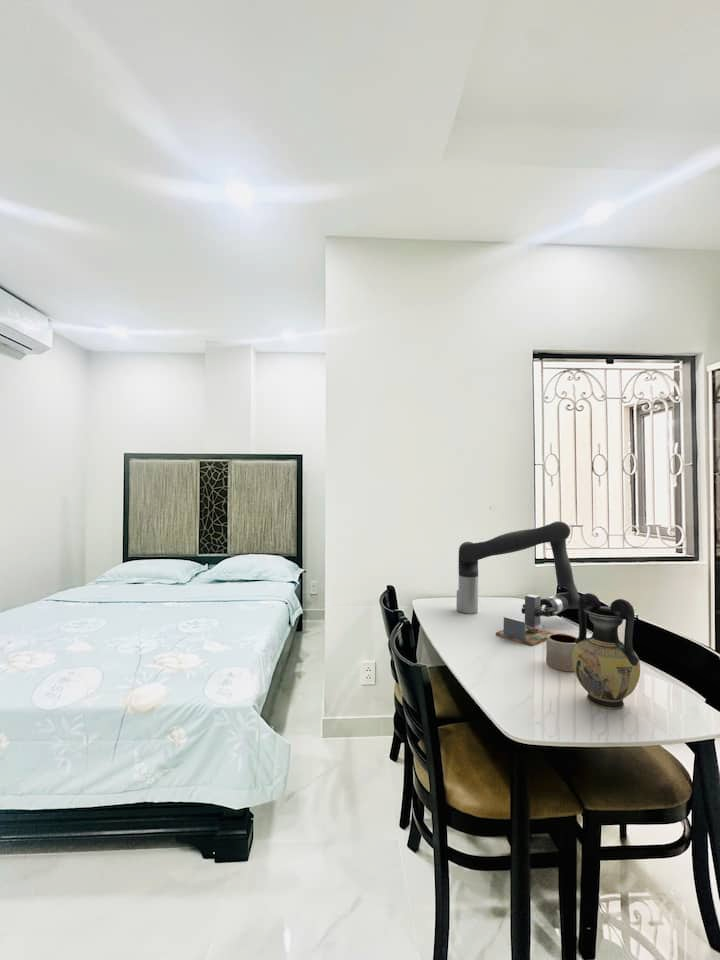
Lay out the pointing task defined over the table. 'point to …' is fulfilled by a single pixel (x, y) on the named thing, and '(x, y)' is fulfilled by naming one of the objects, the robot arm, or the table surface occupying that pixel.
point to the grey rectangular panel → (515, 628)
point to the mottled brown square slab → (528, 637)
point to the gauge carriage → (532, 613)
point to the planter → (560, 651)
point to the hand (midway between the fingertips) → (529, 612)
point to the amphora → (606, 652)
